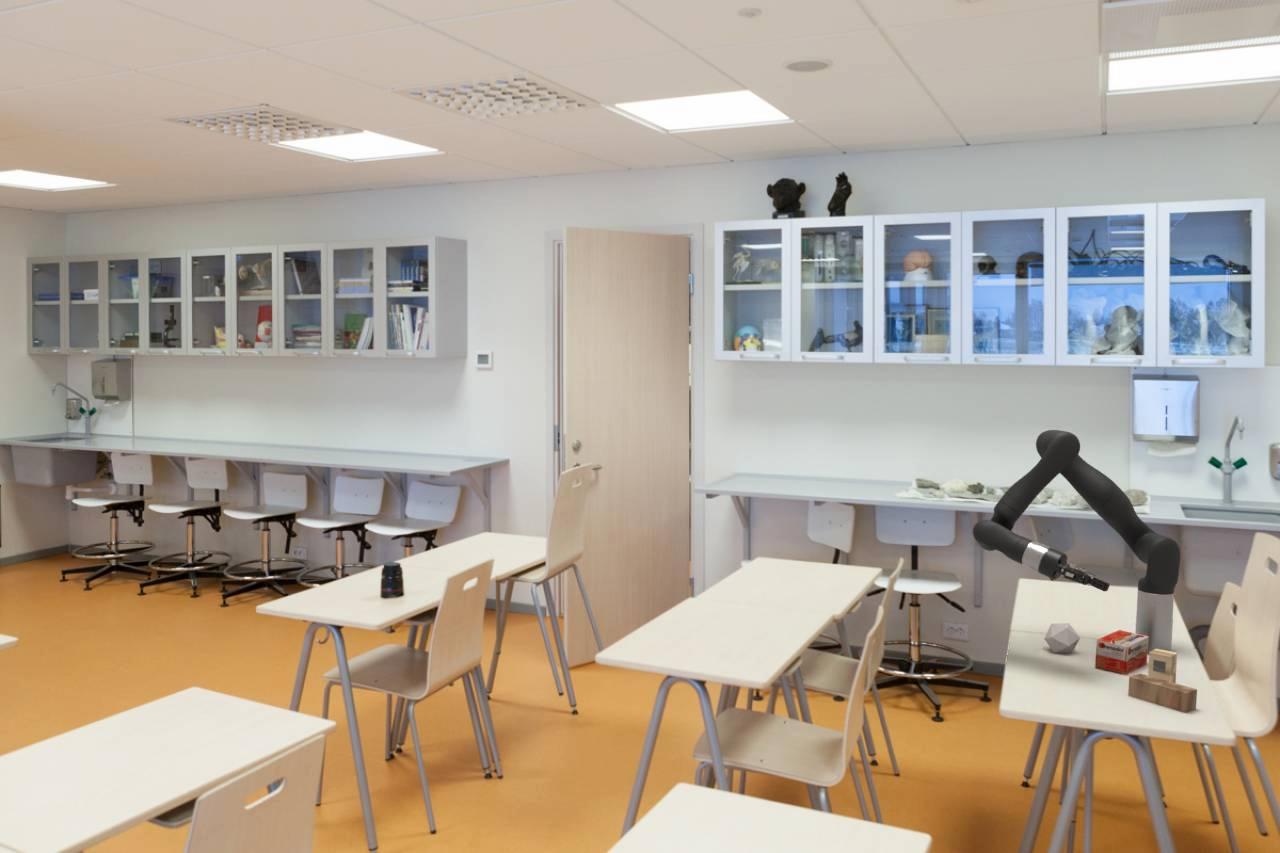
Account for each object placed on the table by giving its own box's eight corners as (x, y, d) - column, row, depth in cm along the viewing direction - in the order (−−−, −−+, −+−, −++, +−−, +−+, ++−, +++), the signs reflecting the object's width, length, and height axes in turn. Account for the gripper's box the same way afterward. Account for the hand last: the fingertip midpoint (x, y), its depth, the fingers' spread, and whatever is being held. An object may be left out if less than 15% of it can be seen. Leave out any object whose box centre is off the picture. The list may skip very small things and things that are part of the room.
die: (1074, 660, 284) (1089, 630, 286) (1046, 643, 285) (1061, 613, 287) (1062, 662, 291) (1076, 633, 294) (1035, 645, 293) (1049, 616, 295)
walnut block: (1140, 673, 255) (1197, 689, 244) (1139, 693, 256) (1195, 709, 244) (1129, 676, 253) (1185, 693, 241) (1127, 696, 253) (1184, 713, 241)
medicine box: (1125, 676, 269) (1127, 646, 268) (1094, 668, 275) (1095, 639, 274) (1148, 664, 279) (1149, 635, 278) (1117, 657, 285) (1119, 629, 284)
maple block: (1154, 682, 263) (1156, 648, 262) (1175, 687, 260) (1177, 652, 259) (1147, 687, 259) (1149, 652, 259) (1168, 692, 256) (1170, 657, 255)
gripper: (1040, 547, 269) (1105, 575, 258) (1057, 547, 279) (1121, 574, 268) (1030, 573, 270) (1094, 602, 259) (1047, 572, 280) (1110, 600, 269)
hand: (1107, 587), depth 264 cm, fingers closed
